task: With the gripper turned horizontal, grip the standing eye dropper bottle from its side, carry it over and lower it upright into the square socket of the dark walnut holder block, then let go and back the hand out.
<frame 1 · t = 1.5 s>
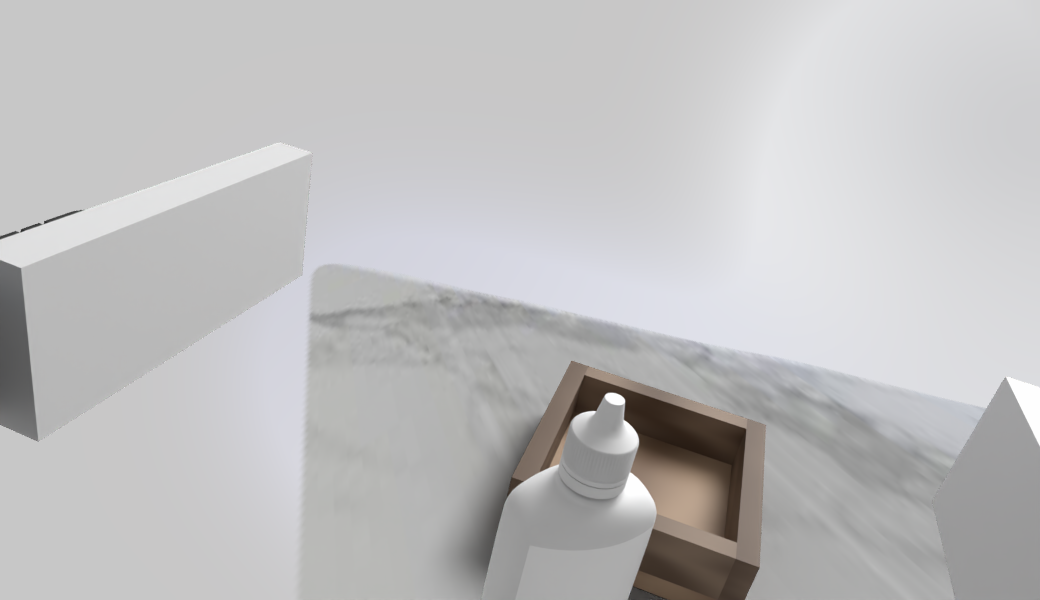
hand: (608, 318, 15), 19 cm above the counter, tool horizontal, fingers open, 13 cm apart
walnut socket block: (633, 501, 40), on the counter
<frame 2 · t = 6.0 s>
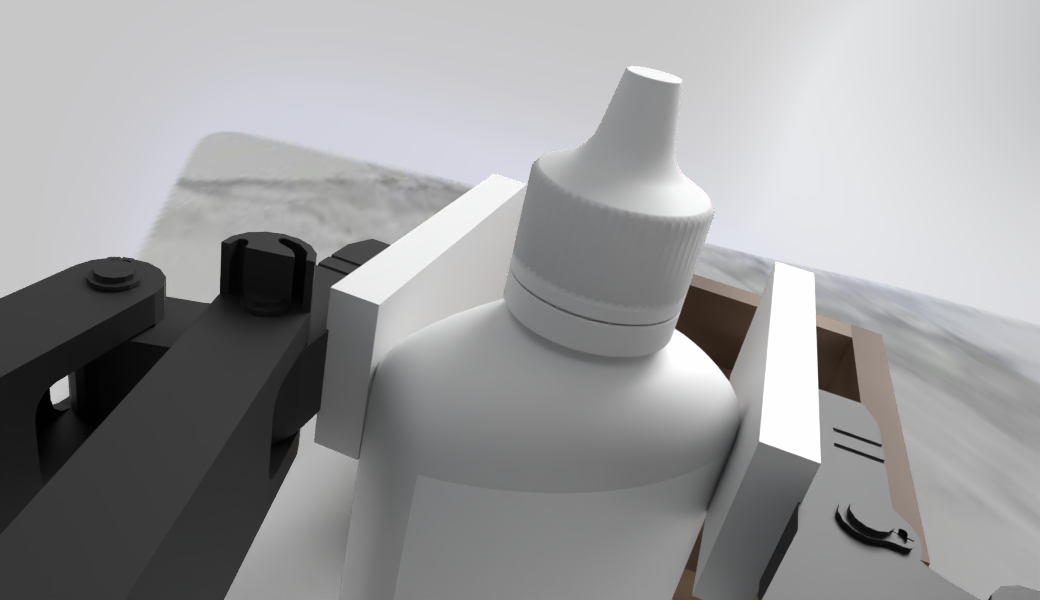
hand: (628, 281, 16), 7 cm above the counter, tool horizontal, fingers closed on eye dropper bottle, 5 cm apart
walnut socket block: (661, 451, 23), on the counter
when the fingers open (9 cm above the counter, at t = 10.9 s): eye dropper bottle drops 1 cm, resting on walnut socket block.
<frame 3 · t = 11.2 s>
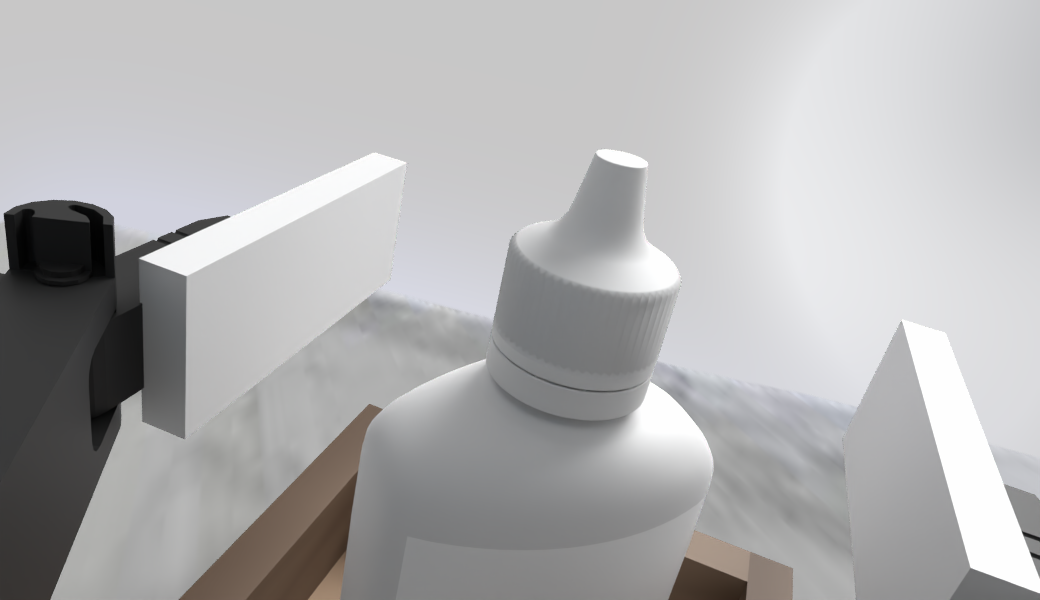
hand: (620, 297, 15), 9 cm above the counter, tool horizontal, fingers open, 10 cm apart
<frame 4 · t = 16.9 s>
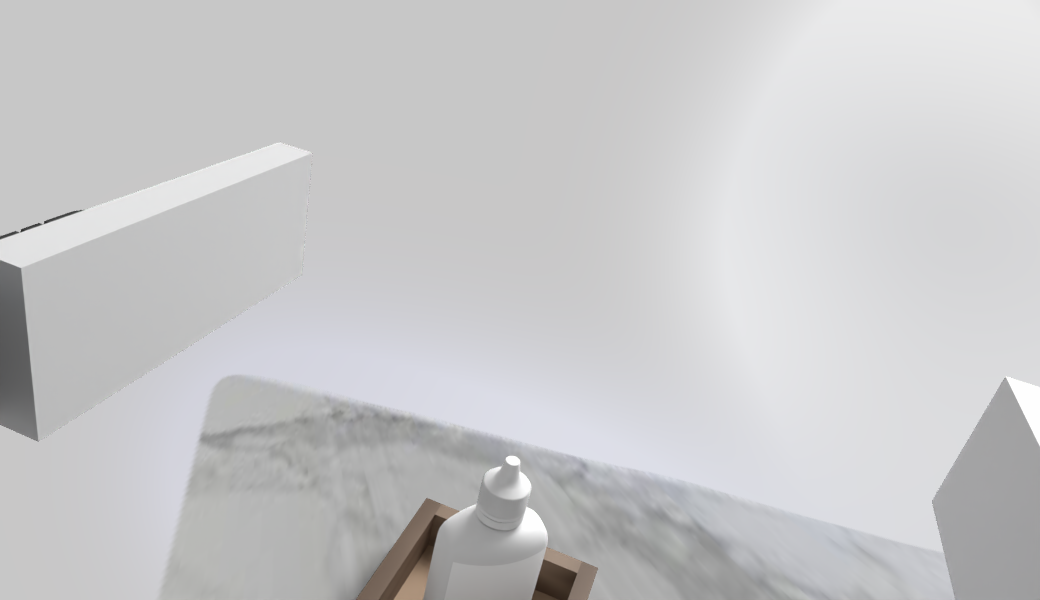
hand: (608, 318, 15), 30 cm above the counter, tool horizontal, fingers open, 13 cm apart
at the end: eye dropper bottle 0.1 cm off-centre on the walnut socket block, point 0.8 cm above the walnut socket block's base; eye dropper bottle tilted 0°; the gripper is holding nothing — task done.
